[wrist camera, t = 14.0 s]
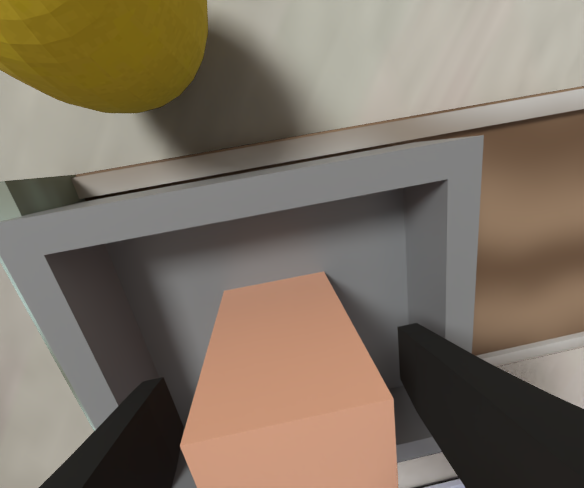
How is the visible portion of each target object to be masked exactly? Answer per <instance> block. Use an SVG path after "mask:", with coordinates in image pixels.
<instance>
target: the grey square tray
mask: <svg viewBox="0 0 584 488" xmlns="http://www.w3.org/2000/svg"><path fill="white" fill-rule="evenodd" d="M483 141H484V135H480V136H470V137H460V138H451V139H441V140H432V141H422V142H413V143H408V144H402V145H396V146H391V147H385V148H380V149H374V150H369V151H363V152H358V153H352V154H346V155H341V156H335V157H330V158H324V159H319V160H313V161H307V162H302V163H296V164H291V165H285V166H280V167H274V168H268V169H263V170H257V171H252V172H246V173H241V174H235V175H229V176H224V177H218V178H213V179H207V180H202V181H196V182H190V183H185V184H179V185H174V186H168V187H163V188H157V189H151V190H146V191H140V192H135V193H129V194H124V195H118V196H112V197H107V198H101V199H96V200H90V201H85V202H79V203H74V204H70V205H66V206H62V207H58V208H53V209H49V210H45V211H41V212H37V213H33V214H29V215H25V216H20V217H16V218H12V219H8V220H4V221H0V256H1V258H2V260H3V262H4V264H5V265H6V267H7V269H8V271H9V273H10V274H11V276H12V278H13V280H14V282H15V284H16V285H17V287H18V289H19V291H20V293H21V294H22V296H23V298H24V300H25V302H26V304H27V305H28V307H29V309H30V311H31V313H32V314H33V316H34V318H35V320H36V322H37V324H38V325H39V327H40V329H41V331H42V333H43V334H44V336H45V338H46V340H47V342H48V344H49V345H50V347H51V349H52V351H53V353H54V354H55V356H56V358H57V360H58V362H59V363H60V365H61V367H62V369H63V371H64V373H65V374H66V376H67V378H68V380H69V382H70V383H71V385H72V387H73V389H74V391H75V393H76V394H77V396H78V398H79V400H80V402H81V403H82V405H83V407H84V409H85V411H86V413H87V414H88V416H89V418H90V420H91V422H92V423H93V425H94V427H95V429H97V428H98V427H99V426H100V425H101V424H102V423H103V422H104V421H105V420H106V419H107V418H108V416H109V415H110V414H111V413H112V412H113V411H114V410H115V409H116V408H117V407H118V406H119V405H120V404H121V403H122V402H123V401H124V400H125V399H126V398H127V397H128V396H129V395H130V393H131V392H132V391H133V390H134V389H135V388H136V387H137V386H139V385H140V384H141V383H142V382H143V381H147V380H151V379H156V378H161V377H164V379H165V382H166V384H167V387H168V389H169V392H170V394H171V397H172V399H173V402H174V404H175V407H176V409H177V411H178V414H179V416H180V419H181V421H182V424H183V426H184V429H183V433H184V430H185V426H186V422H187V419H188V415H189V412H190V408H191V405H192V401H193V398H194V394H195V391H196V387H197V384H198V380H199V377H200V373H201V370H202V366H203V363H204V359H205V356H206V352H207V349H208V345H209V342H210V338H211V335H212V331H213V328H214V324H215V321H216V317H217V314H218V310H219V307H220V303H221V300H222V296H223V293H224V291H226V290H231V289H236V288H241V287H246V286H252V285H257V284H262V283H267V282H272V281H277V280H282V279H288V278H293V277H298V276H303V275H308V274H313V273H318V272H324V273H325V274H326V276H327V278H328V280H329V282H330V284H331V285H332V287H333V289H334V291H335V293H336V295H337V296H338V298H339V300H340V302H341V304H342V305H343V307H344V309H345V311H346V313H347V315H348V316H349V318H350V320H351V322H352V324H353V326H354V327H355V329H356V331H357V333H358V335H359V337H360V338H361V340H362V342H363V344H364V346H365V347H366V349H367V351H368V353H369V355H370V357H371V358H372V360H373V362H374V364H375V366H376V368H377V369H378V371H379V373H380V375H381V377H382V378H383V380H384V382H385V384H386V386H387V388H388V389H389V391H390V393H391V395H392V397H393V399H394V417H395V436H396V454H397V463H398V462H402V461H407V460H411V459H415V458H419V457H423V456H428V455H432V454H436V453H440V452H442V451H441V449H440V448H439V446H438V444H437V443H436V441H435V440H434V438H433V437H432V435H431V434H430V432H429V430H428V429H427V427H426V426H425V424H424V423H423V421H422V419H421V418H420V416H419V415H418V413H417V411H416V409H415V407H414V405H413V404H412V402H411V400H410V398H409V396H408V394H407V392H406V390H405V388H404V386H403V384H402V382H401V379H400V368H399V348H398V328H397V327H399V326H404V325H409V324H413V323H418V324H420V325H422V326H423V327H425V328H427V329H429V330H431V331H432V332H434V333H436V334H438V335H440V336H441V337H443V338H445V339H447V340H448V341H450V342H452V343H454V344H455V345H457V346H459V347H461V348H463V349H464V350H466V351H468V352H470V353H472V341H473V323H474V305H475V286H476V268H477V250H478V232H479V214H480V196H481V177H482V159H483ZM182 437H183V435H182ZM172 488H197V486H196V484H195V481H194V479H193V477H192V474H191V472H190V469H189V467H188V465H187V462H186V460H185V457H184V455H183V452H182V450H181V448H180V454H179V459H178V464H177V469H176V473H175V477H174V480H173V484H172Z"/></svg>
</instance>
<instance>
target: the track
mask: <svg viewBox="0 0 584 488" xmlns="http://www.w3.org/2000/svg"><path fill="white" fill-rule="evenodd" d="M480 135H484V141H483V159H482V177H481V196H480V214H479V232H478V250H477V268H476V286H475V305H474V323H473V341H472V354H473V355H475V356H477V357H479V358H481V359H483V360H484V361H486V362H488V363H490V364H492V365H494V366H496V367H498V366H502V365H506V364H511V363H515V362H520V361H524V360H529V359H533V358H537V357H542V356H546V355H551V354H555V353H560V352H564V351H568V350H573V349H577V348H582V347H584V86H582V87H576V88H570V89H564V90H559V91H553V92H547V93H541V94H536V95H530V96H524V97H519V98H513V99H507V100H501V101H496V102H490V103H484V104H478V105H473V106H467V107H461V108H456V109H450V110H444V111H438V112H433V113H427V114H421V115H415V116H410V117H404V118H398V119H392V120H387V121H381V122H375V123H370V124H364V125H358V126H352V127H347V128H341V129H335V130H329V131H324V132H318V133H312V134H306V135H301V136H295V137H289V138H284V139H278V140H272V141H266V142H261V143H255V144H249V145H243V146H238V147H232V148H226V149H221V150H215V151H209V152H203V153H198V154H192V155H186V156H180V157H175V158H169V159H163V160H157V161H152V162H146V163H140V164H135V165H129V166H123V167H117V168H112V169H106V170H100V171H94V172H89V173H83V174H77V175H68V176H57V177H46V178H35V179H24V180H12V181H3V182H0V221H4V220H8V219H12V218H16V217H20V216H25V215H29V214H33V213H37V212H41V211H45V210H49V209H53V208H58V207H62V206H66V205H70V204H74V203H79V202H85V201H90V200H96V199H101V198H107V197H112V196H118V195H124V194H129V193H135V192H140V191H146V190H151V189H157V188H163V187H168V186H174V185H179V184H185V183H190V182H196V181H202V180H207V179H213V178H218V177H224V176H229V175H235V174H241V173H246V172H252V171H257V170H263V169H268V168H274V167H280V166H285V165H291V164H296V163H302V162H307V161H313V160H319V159H324V158H330V157H335V156H341V155H346V154H352V153H358V152H363V151H369V150H374V149H380V148H385V147H391V146H396V145H402V144H408V143H413V142H422V141H432V140H441V139H451V138H460V137H470V136H480ZM0 263H1V264H2V266H3V268H4V270H5V272H6V273H7V275H8V277H9V279H10V281H11V282H12V284H13V286H14V288H15V290H16V291H17V293H18V295H19V297H20V299H21V300H22V302H23V304H24V306H25V308H26V309H27V311H28V313H29V315H30V317H31V318H32V320H33V322H34V324H35V326H36V327H37V329H38V331H39V333H40V335H41V336H42V338H43V340H44V342H45V344H46V345H47V347H48V349H49V351H50V353H51V354H52V356H53V358H54V360H55V362H56V363H57V365H58V367H59V369H60V371H61V372H62V374H63V376H64V378H65V380H66V381H67V383H68V385H69V387H70V389H71V390H72V392H73V394H74V396H75V398H76V399H77V401H78V403H79V405H80V407H81V409H82V410H83V412H84V414H85V416H86V418H87V419H88V421H89V423H90V425H91V427H92V428H93V430H94V431H95V430H96V429H95V427H94V425H93V423H92V422H91V420H90V418H89V416H88V414H87V413H86V411H85V409H84V407H83V405H82V403H81V402H80V400H79V398H78V396H77V394H76V393H75V391H74V389H73V387H72V385H71V383H70V382H69V380H68V378H67V376H66V374H65V373H64V371H63V369H62V367H61V365H60V363H59V362H58V360H57V358H56V356H55V354H54V353H53V351H52V349H51V347H50V345H49V344H48V342H47V340H46V338H45V336H44V334H43V333H42V331H41V329H40V327H39V325H38V324H37V322H36V320H35V318H34V316H33V314H32V313H31V311H30V309H29V307H28V305H27V304H26V302H25V300H24V298H23V296H22V294H21V293H20V291H19V289H18V287H17V285H16V284H15V282H14V280H13V278H12V276H11V274H10V273H9V271H8V269H7V267H6V265H5V264H4V262H3V260H2V258H1V256H0Z"/></svg>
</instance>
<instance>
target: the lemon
mask: <svg viewBox="0 0 584 488" xmlns="http://www.w3.org/2000/svg"><path fill="white" fill-rule="evenodd" d="M207 35H208V17H207V0H0V70H1V71H3V72H5V73H7V74H8V75H10V76H12V77H14V78H15V79H17V80H19V81H21V82H23V83H25V84H27V85H29V86H31V87H33V88H35V89H37V90H39V91H41V92H43V93H45V94H47V95H49V96H51V97H53V98H55V99H57V100H60V101H63V102H66V103H69V104H73V105H76V106H80V107H84V108H88V109H92V110H96V111H100V112H105V113H140V112H144V111H148V110H151V109H155V108H159V107H162V106H164V105H165V104H167V103H168V102H170V101H172V100H173V99H175V98H176V97H178V96H179V95H181V93H182V92H183V91H184V90H185V89H186V88H187V86H188V85H189V84H190V83H191V82H192V81H193V79H194V77H195V75H196V73H197V71H198V69H199V67H200V65H201V62H202V60H203V56H204V51H205V46H206V41H207Z"/></svg>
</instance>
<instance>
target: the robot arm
mask: <svg viewBox="0 0 584 488" xmlns="http://www.w3.org/2000/svg"><path fill="white" fill-rule="evenodd" d="M397 328H398V348H399V368H400V379H401V382H402V384H403V386H404V388H405V390H406V392H407V394H408V396H409V398H410V400H411V402H412V404H413V405H414V407H415V409H416V411H417V413H418V415H419V416H420V418H421V419H422V421H423V423H424V424H425V426H426V427H427V429H428V430H429V432H430V434H431V435H432V437H433V438H434V440H435V441H436V443H437V444H438V446H439V448H440V449H441V451H442V452H443V454H444V455H445V457H446V458H447V460H448V462H449V463H450V465H451V466H452V468H453V469H454V471H455V472H456V474H457V475H458V477H459V479H456V480H452V481H448V482H444V483H440V484H436V485H432V486H428V487H423V488H584V409H582V408H580V407H578V406H575V405H573V404H571V403H569V402H566V401H564V400H562V399H560V398H558V397H556V396H554V395H551V394H549V393H547V392H545V391H543V390H541V389H539V388H537V387H535V386H533V385H531V384H529V383H527V382H525V381H523V380H521V379H519V378H517V377H515V376H513V375H511V374H509V373H507V372H505V371H503V370H501V369H499V368H497V367H496V366H494V365H492V364H490V363H488V362H486V361H484V360H483V359H481V358H479V357H477V356H475V355H473V354H472V353H470V352H468V351H466V350H464V349H463V348H461V347H459V346H457V345H455V344H454V343H452V342H450V341H448V340H447V339H445V338H443V337H441V336H440V335H438V334H436V333H434V332H432V331H431V330H429V329H427V328H425V327H423V326H422V325H420V324H418V323H413V324H409V325H404V326H399V327H397ZM183 429H184V426H183V424H182V421H181V419H180V416H179V414H178V411H177V409H176V407H175V404H174V402H173V399H172V397H171V394H170V392H169V389H168V387H167V384H166V382H165V379H164V377H161V378H156V379H151V380H147V381H143V382H142V383H141V384H140V385H139V386H137V387H136V388H135V389H134V390H133V391H132V392H131V393H130V395H129V396H128V397H127V398H126V399H125V400H124V401H123V402H122V403H121V404H120V405H119V406H118V407H117V408H116V409H115V410H114V411H113V412H112V413H111V414H110V415H109V416H108V418H107V419H106V420H105V421H104V422H103V423H102V424H101V425H100V426H99V427H98V428H97V429H96V430H95V431H94V432H93V433H92V434H91V435H90V436H89V437H88V438H87V440H86V441H85V442H84V443H83V444H82V445H81V446H80V447H79V448H78V449H77V450H76V451H75V452H74V453H73V454H72V455H71V456H70V457H69V458H68V459H67V460H66V461H65V462H64V463H63V464H62V465H61V466H60V467H59V468H58V469H57V470H56V471H55V472H54V473H53V474H52V475H51V476H50V477H49V478H48V479H47V480H46V481H45V482H44V483H43V484H42V485H41V486H40V487H39V488H172V484H173V480H174V477H175V473H176V469H177V464H178V459H179V454H180V444H181V440H182V435H183Z"/></svg>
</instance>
